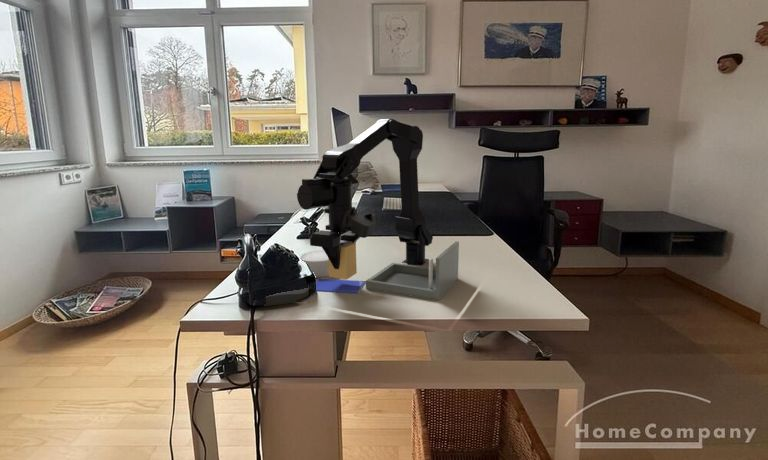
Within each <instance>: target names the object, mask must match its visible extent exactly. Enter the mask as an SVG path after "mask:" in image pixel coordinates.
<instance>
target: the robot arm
mask: <svg viewBox="0 0 768 460" xmlns="http://www.w3.org/2000/svg"><path fill="white" fill-rule="evenodd" d="M423 138H424V134H423V131H422V129H421V128H420V127H419V126H418V125H410V124H407V123H403V122H400V121H399V120H396V119H394V118H380V119H378V120H377V121H375V123H374V124H373V125H371V126H370V127H368V128H367V129H366V130H364V132H361V134H359V135H358V136H357V137H356V138H354V139H353V140H351V141H350V142H348V143H346V144H343V145H340V146H337V147H336V146H335V147H334V148H331V149H329V150H328V151H326V152H324V154H323V155H322V156H321V158H322V160H321V163H320V165H319V167H318V168H317V170H316V173H315V174H314V176H313V178H302V180H301V185H299V188H298V190H297V193H296V198H297V202H298V204H299V206H300V207H301V208H302V210H307V211H308V210H313V209H318V208H323V207H324V214H328V224H327V225H325V230H323V229H322V230H318V231H316V232H313V233H312V234H311V235H310V236H309V245H310V246H311V247H320V248H322V250H324V251H325V253H326V254H327V256H328V258H329V260H330V261H331V263H332V265H333V267H334V269H339V265H340V250H341V248H342V247H343V246H344V245H345V243H341V240H343V241H352V242H355V243H357V241H358V240H359V239H360V238H362V239H365V238H367V237H368V236H372V234H373V231H374V229H375V228H376V227H377V220H376V214H374V213H373V212H368V213H366V214H365V215H364V214H358V213H357V210H358V209H357V208H356V206H353V200H352V199H353V198H352V197H353V195H352V185H356V184H358V183H359V180H358V179H357V178H355V177H354V176H353V173H354V172H355V171H356V170H357V168H358V167H359V166H360V164H361V160H362V159H363V158H364V157H365V156H366V155H367V154H368V153H370V152H371V151H372V150H374V149H375V148H376V147H378V146H379V145H380V144H381V143H383V142H384V141H385V140H387V141H389V142H391V144H392V145H391V146H392V151H393V153H394V154H395V155H396V157H397V159H398V164H399V169H398V170H399V185H400V188H399V189H400V204H401V206H400V207H401V210H400V213H399V215H397V216H395V217H394V222H395V223H394V224H395V227H394V231H396V234H397V236H398V239H399V242H400V243H404V244H405V259H404V260H403V261H402V262H401V264H406V265H414V266H423V265H424V264H426V263H427V262H428V263H429V259H430V258H426V247H428V246H430V245H431V244H432V242H433V238H434V236H433V235H432V233H431V232H430V231H429V230H428V229H427V225H426V219H425V216H424V215H423V213H422V212H421V210H420V204H419V202H420V198H419V197H420V196H419V176H418V175H419V173H418V157H419V155H420V153H421V151H422V150H423V141H424V140H423ZM325 207H327V208H325Z"/></svg>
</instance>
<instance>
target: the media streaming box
mask: <svg viewBox="0 0 768 460" xmlns="http://www.w3.org/2000/svg"><path fill="white" fill-rule="evenodd" d="M309 287H310V286H308V288H304V289H300V290H293V291H287V292H281V293H276V294H273V295H269V296H266V297H265V298H266V304H264V306H263V307H268V306H276V305H285V304H293V303H299V302H301V300H302V299H305V298H306V297H308V296H309V295H310V291H309V289H310V288H309Z"/></svg>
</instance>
